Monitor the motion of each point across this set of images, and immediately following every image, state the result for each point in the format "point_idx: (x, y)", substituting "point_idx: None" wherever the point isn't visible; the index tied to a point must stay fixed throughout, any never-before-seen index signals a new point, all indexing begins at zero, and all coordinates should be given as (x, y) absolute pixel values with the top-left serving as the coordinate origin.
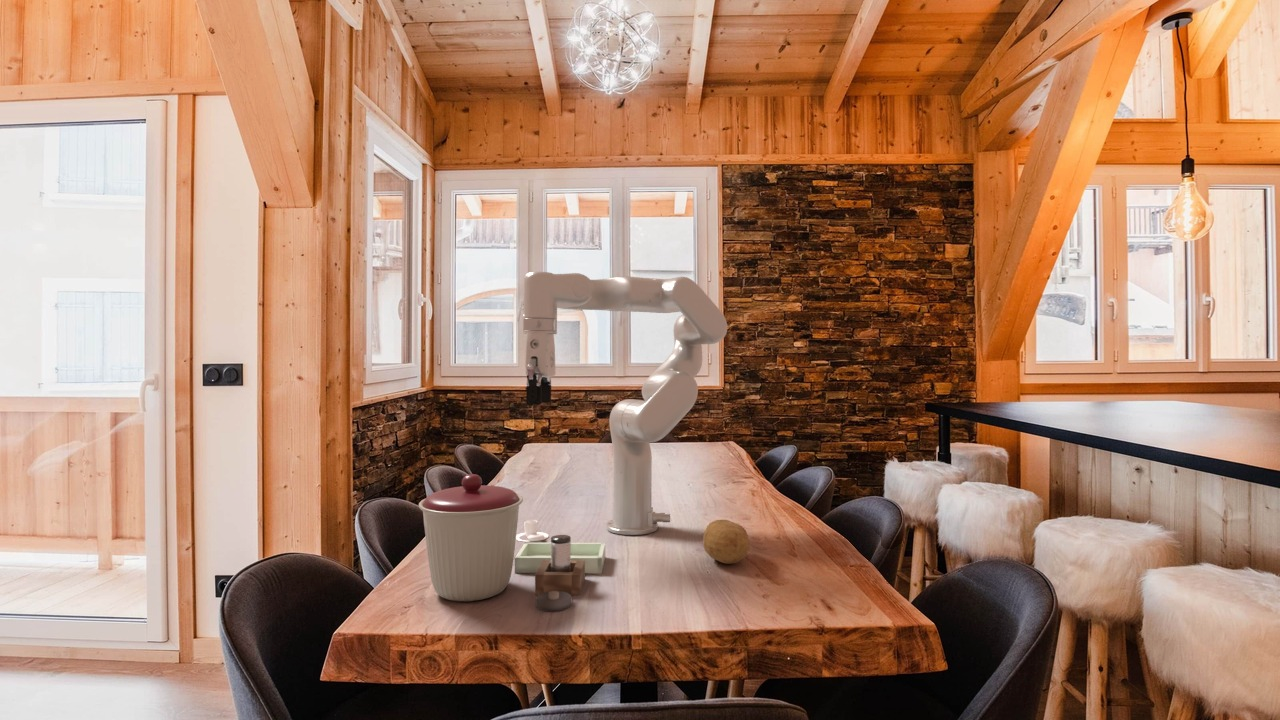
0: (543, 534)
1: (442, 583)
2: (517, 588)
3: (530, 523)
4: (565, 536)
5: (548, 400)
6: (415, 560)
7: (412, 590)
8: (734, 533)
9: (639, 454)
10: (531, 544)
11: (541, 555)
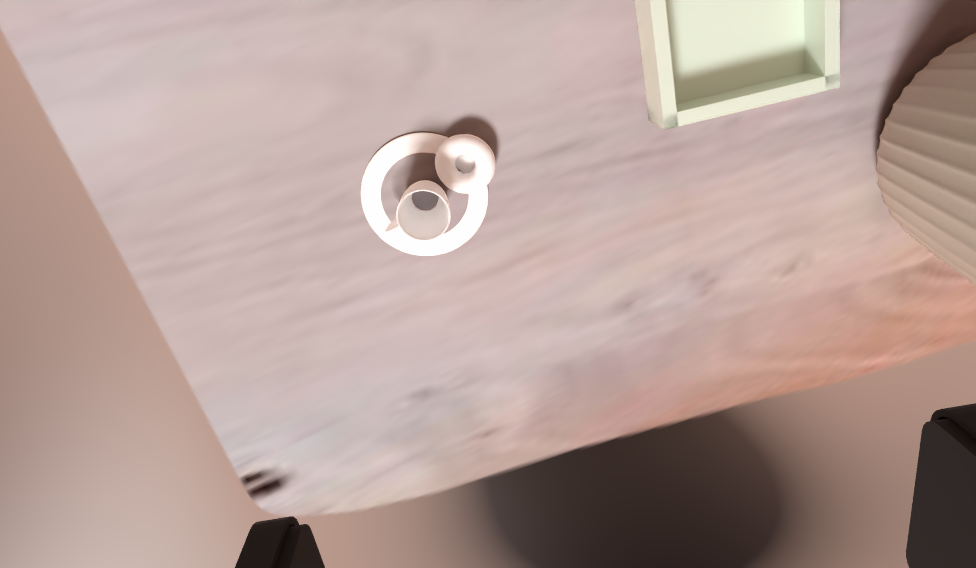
0: (382, 166)
1: None
2: (947, 9)
3: (448, 206)
4: None
5: (309, 542)
6: (720, 403)
7: (947, 287)
8: None
9: None
10: (674, 98)
11: (673, 50)
